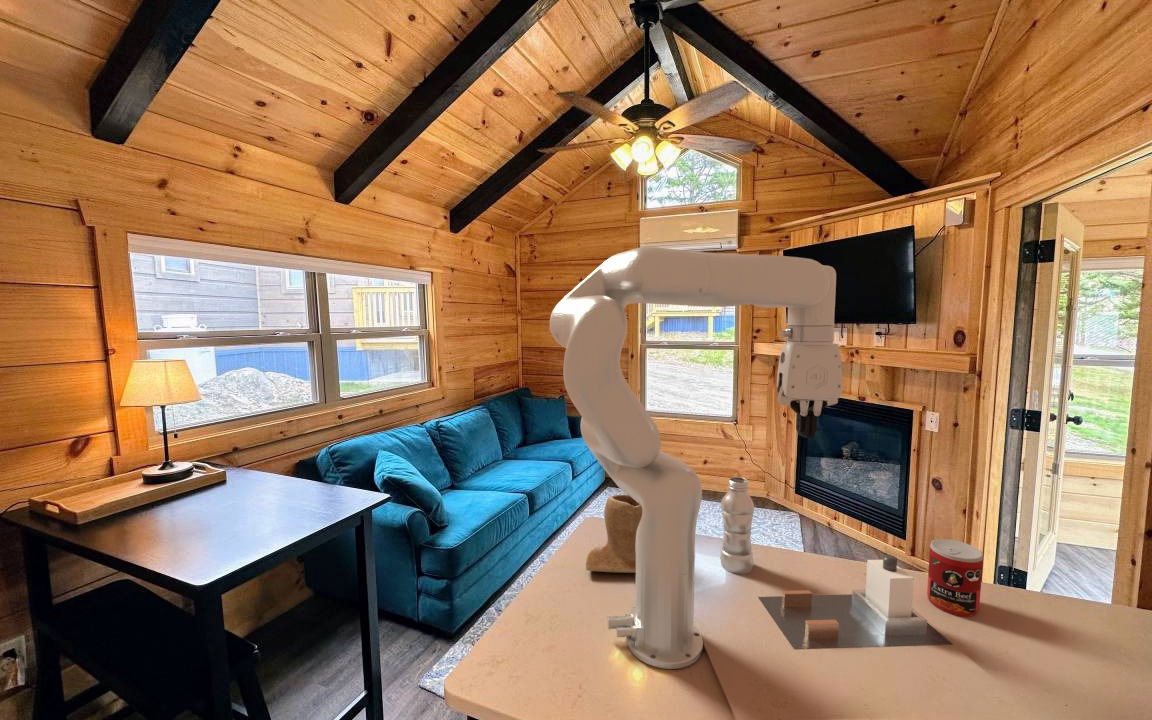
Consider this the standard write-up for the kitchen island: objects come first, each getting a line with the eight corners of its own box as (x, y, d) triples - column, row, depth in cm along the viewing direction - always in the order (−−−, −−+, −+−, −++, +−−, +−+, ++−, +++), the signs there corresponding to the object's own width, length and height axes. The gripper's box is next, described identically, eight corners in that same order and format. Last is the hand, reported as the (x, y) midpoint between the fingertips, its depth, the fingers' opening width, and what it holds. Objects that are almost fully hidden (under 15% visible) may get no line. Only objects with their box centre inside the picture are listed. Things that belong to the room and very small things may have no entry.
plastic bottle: (757, 580, 97) (760, 485, 95) (724, 580, 97) (727, 485, 95) (747, 563, 104) (749, 474, 102) (716, 563, 104) (717, 474, 102)
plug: (887, 629, 80) (890, 567, 79) (864, 607, 86) (867, 549, 85) (910, 628, 80) (914, 566, 79) (886, 606, 86) (889, 548, 85)
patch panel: (793, 656, 76) (794, 634, 75) (757, 602, 89) (758, 584, 89) (952, 651, 76) (954, 629, 76) (892, 599, 90) (893, 580, 90)
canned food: (923, 605, 88) (927, 549, 87) (929, 587, 94) (933, 534, 93) (977, 623, 83) (982, 563, 82) (980, 603, 89) (984, 547, 88)
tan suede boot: (653, 551, 109) (653, 488, 108) (659, 580, 97) (659, 510, 96) (587, 550, 110) (587, 487, 109) (585, 578, 98) (585, 509, 97)
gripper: (778, 337, 81) (774, 442, 83) (864, 336, 81) (858, 441, 83) (759, 335, 88) (757, 431, 90) (838, 334, 89) (834, 430, 91)
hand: (805, 435), depth 87 cm, fingers closed
